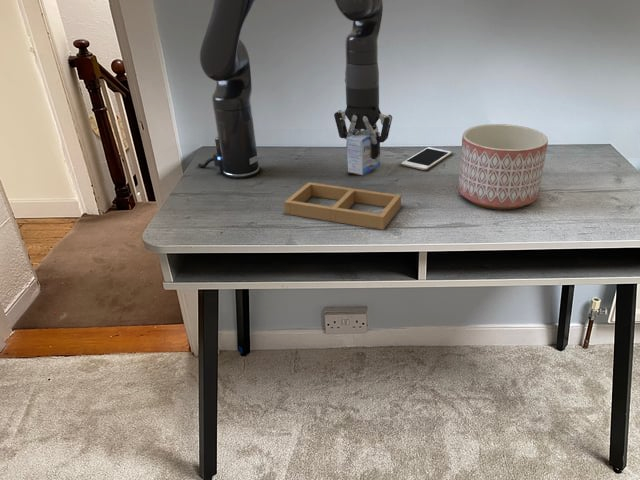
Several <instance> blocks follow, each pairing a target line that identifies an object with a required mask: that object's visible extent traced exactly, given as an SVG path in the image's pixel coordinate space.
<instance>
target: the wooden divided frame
mask: <svg viewBox="0 0 640 480" xmlns="http://www.w3.org/2000/svg"><path fill="white" fill-rule="evenodd" d="M311 197H317V198H323V199H330V200H337V201H336V203H335V204H334V205H333V206H329V205H322V204H318V203H317V204H316V203H311V202H310V203H309V202H307V201H308V200H309V199H311ZM355 203H357V204H364V205H371V206H376V207H377V206H378V207H383V208H384V209H383V210H382V211H381V213H376V212H368V211H361V210H356V209H350V208H351V207H352V206H353V205H354V204H355ZM401 208H402V194H395V193H387V192H381V191H376V190H375V191H374V190H367V189H360V188H353V187H346V186H341V185H332V184H325V183H319V182H318V183H317V182H310V181H308V182H307V183H306V184H305V185H303V186H302V187H300V188H299V189H298V190H296V191H295V193H293V194H292V195H290V196H289V197H288V198H286V200H285V201H284V212H285V215H291V216H297V217H303V218H310V219H315V220H320V221H321V220H322V221H326V222H327V221H328V222H334V223H340V224H346V225H353V226H359V227H365V228H371V229H378V230H385V228H386V227H387V226H388V224H389V223H390V222H391V220H392V219H393V218H394V217H395V215H396V214H397V213H398V211H399V210H400V209H401Z"/></svg>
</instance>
